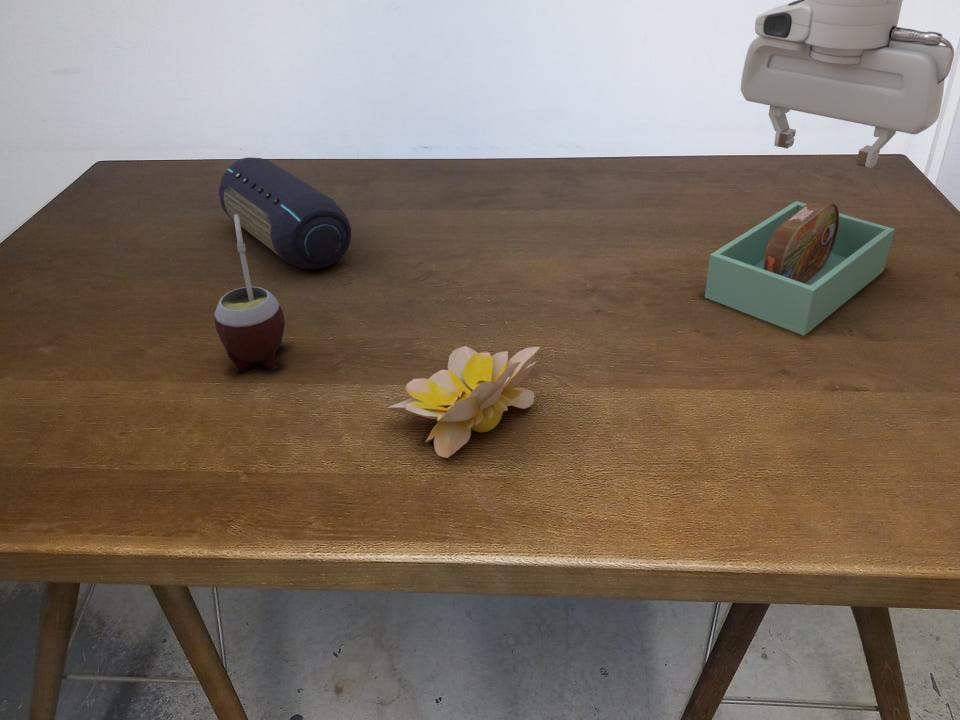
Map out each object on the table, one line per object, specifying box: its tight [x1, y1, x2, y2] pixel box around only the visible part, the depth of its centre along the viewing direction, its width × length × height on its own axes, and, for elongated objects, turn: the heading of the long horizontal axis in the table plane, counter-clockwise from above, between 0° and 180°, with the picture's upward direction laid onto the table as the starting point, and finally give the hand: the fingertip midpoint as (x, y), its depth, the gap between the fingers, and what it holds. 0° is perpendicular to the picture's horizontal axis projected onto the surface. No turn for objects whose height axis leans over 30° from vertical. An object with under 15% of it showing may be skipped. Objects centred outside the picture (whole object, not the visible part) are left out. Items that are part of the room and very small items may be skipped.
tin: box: [764, 201, 840, 284], centre depth 95 cm, size 15×3×8 cm, turn 137°
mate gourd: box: [214, 214, 286, 375], centre depth 86 cm, size 8×8×15 cm
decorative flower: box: [383, 345, 541, 458], centre depth 77 cm, size 15×11×10 cm
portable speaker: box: [218, 157, 352, 270], centre depth 110 cm, size 25×10×10 cm, turn 37°
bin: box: [704, 200, 895, 336], centre depth 96 cm, size 20×13×6 cm, turn 134°
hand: (823, 155), depth 89 cm, fingers open, 8 cm apart
